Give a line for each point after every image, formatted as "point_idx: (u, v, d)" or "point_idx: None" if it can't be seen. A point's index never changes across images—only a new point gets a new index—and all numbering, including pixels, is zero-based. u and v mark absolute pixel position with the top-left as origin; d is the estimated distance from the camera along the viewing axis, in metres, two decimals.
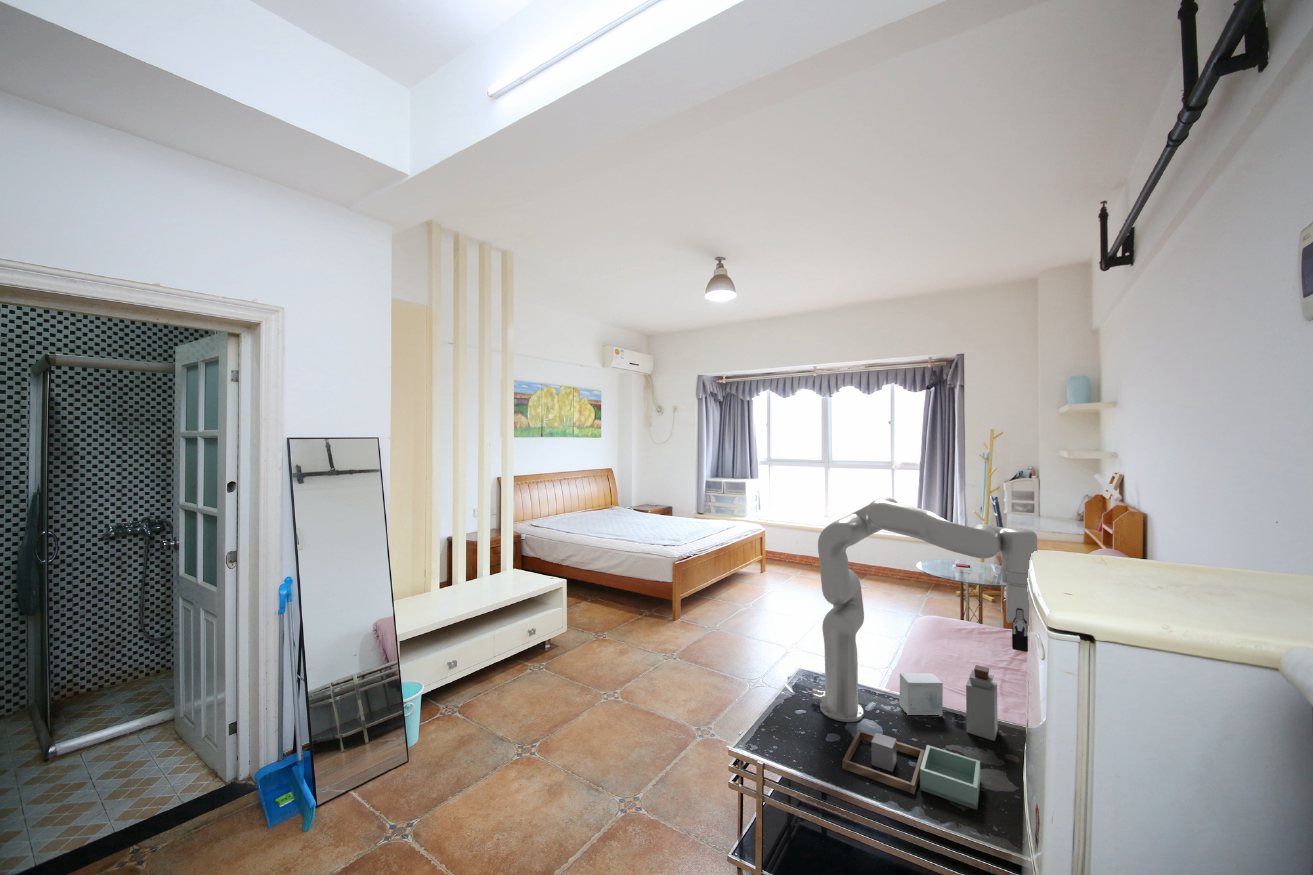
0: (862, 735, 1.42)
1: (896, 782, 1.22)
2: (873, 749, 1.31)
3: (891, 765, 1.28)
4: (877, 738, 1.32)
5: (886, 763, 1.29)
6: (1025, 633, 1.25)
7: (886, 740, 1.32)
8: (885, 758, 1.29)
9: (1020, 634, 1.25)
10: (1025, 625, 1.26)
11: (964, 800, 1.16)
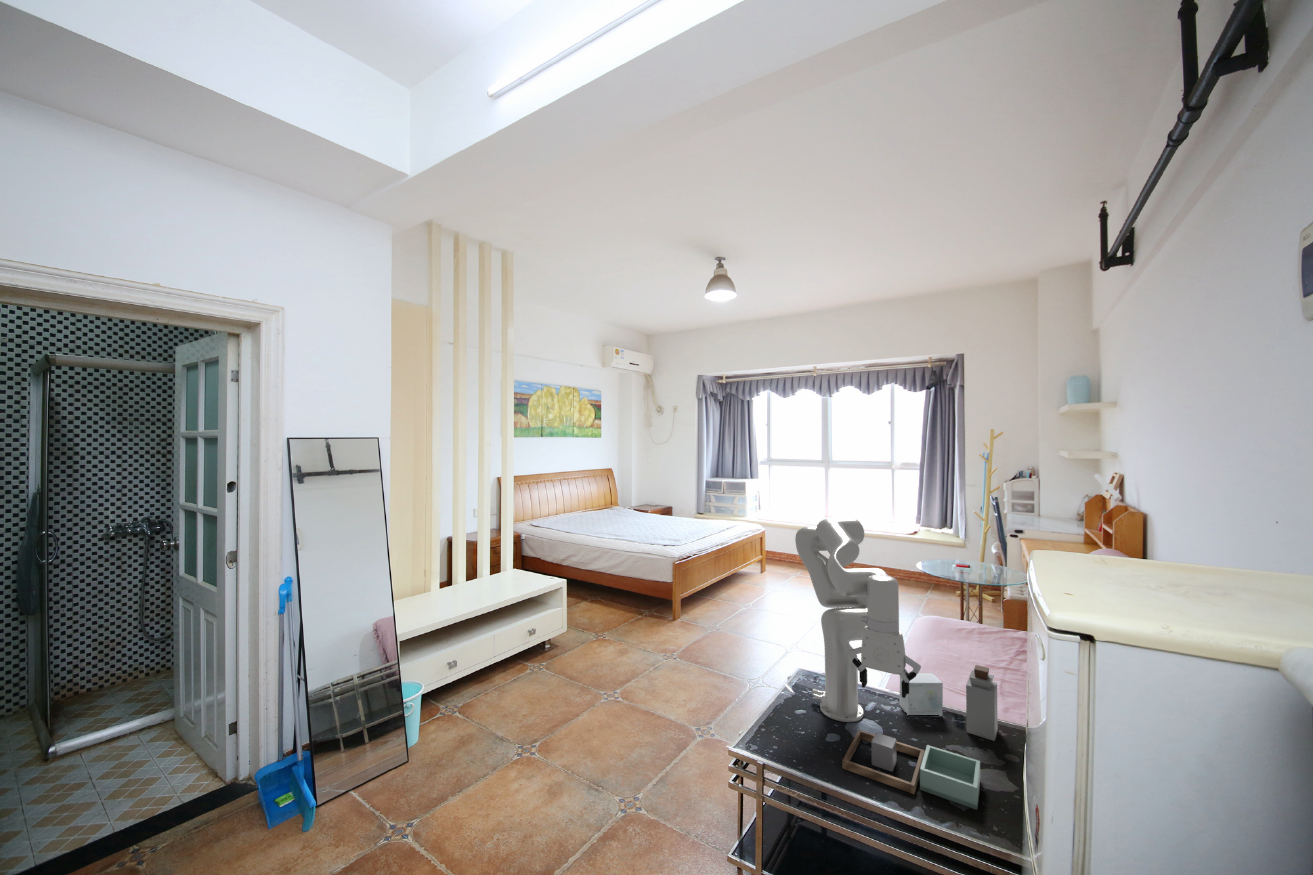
0: (862, 735, 1.42)
1: (896, 782, 1.22)
2: (873, 749, 1.31)
3: (891, 765, 1.28)
4: (877, 738, 1.32)
5: (886, 763, 1.29)
6: None
7: (886, 740, 1.32)
8: (885, 758, 1.29)
9: None
10: (904, 668, 1.30)
11: (964, 800, 1.16)
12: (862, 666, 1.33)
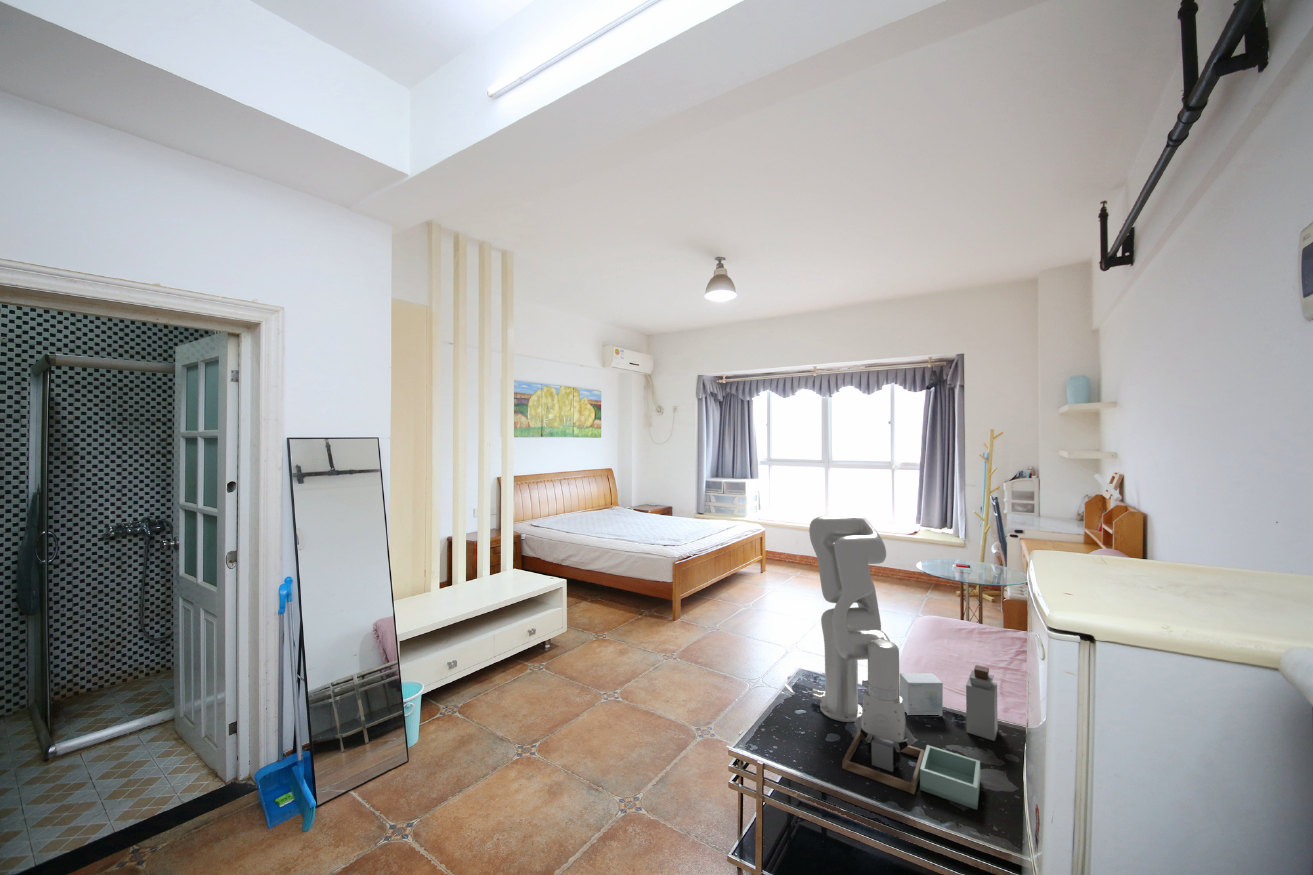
0: (862, 735, 1.42)
1: (896, 782, 1.22)
2: (873, 749, 1.31)
3: (891, 765, 1.28)
4: (877, 738, 1.32)
5: (886, 763, 1.29)
6: None
7: (886, 740, 1.32)
8: (885, 758, 1.29)
9: None
10: None
11: (964, 800, 1.16)
12: (870, 737, 1.32)
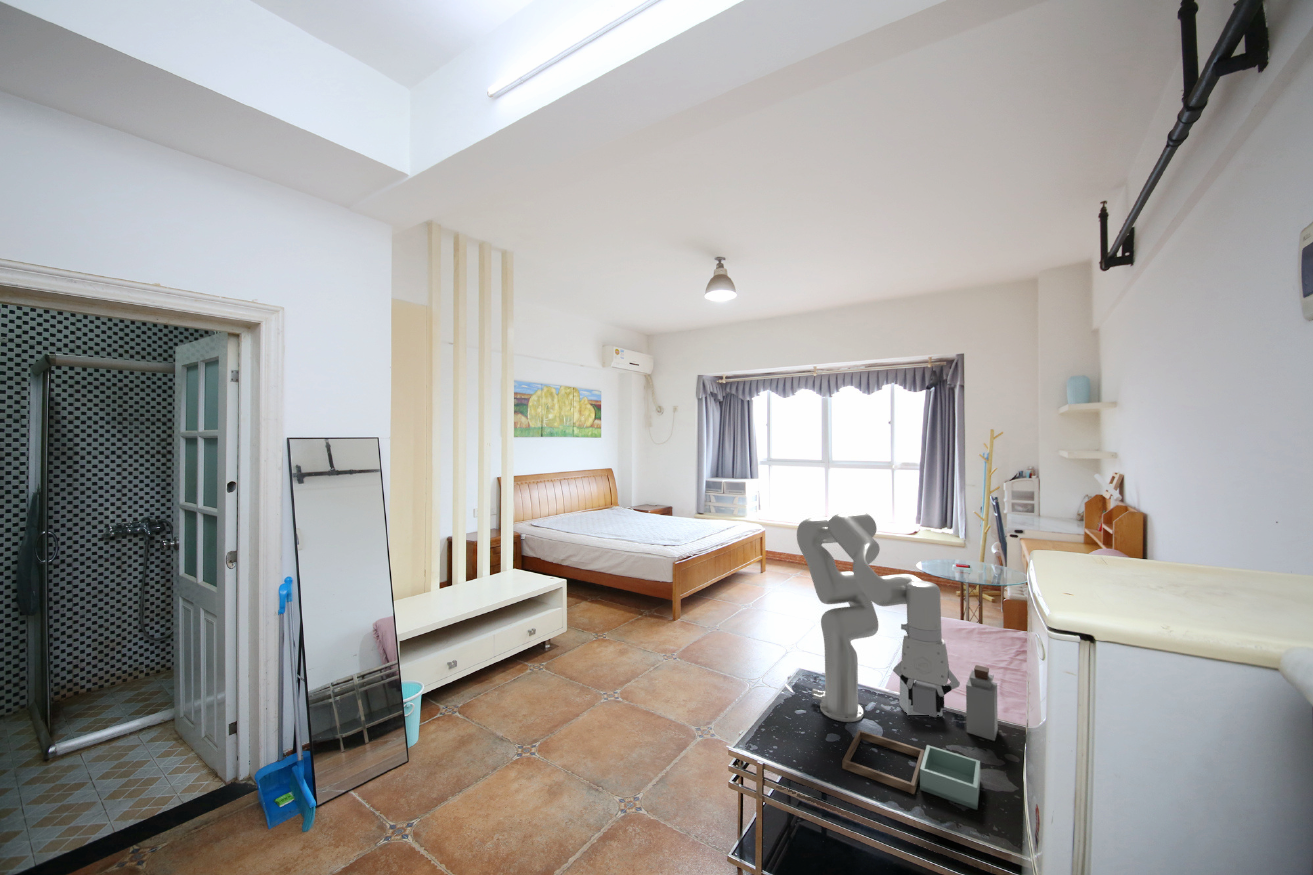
0: (862, 735, 1.42)
1: (896, 782, 1.22)
2: (914, 694, 1.25)
3: (934, 710, 1.22)
4: (918, 684, 1.26)
5: (929, 709, 1.23)
6: None
7: (928, 685, 1.26)
8: (928, 703, 1.23)
9: None
10: None
11: (964, 800, 1.16)
12: (911, 683, 1.26)
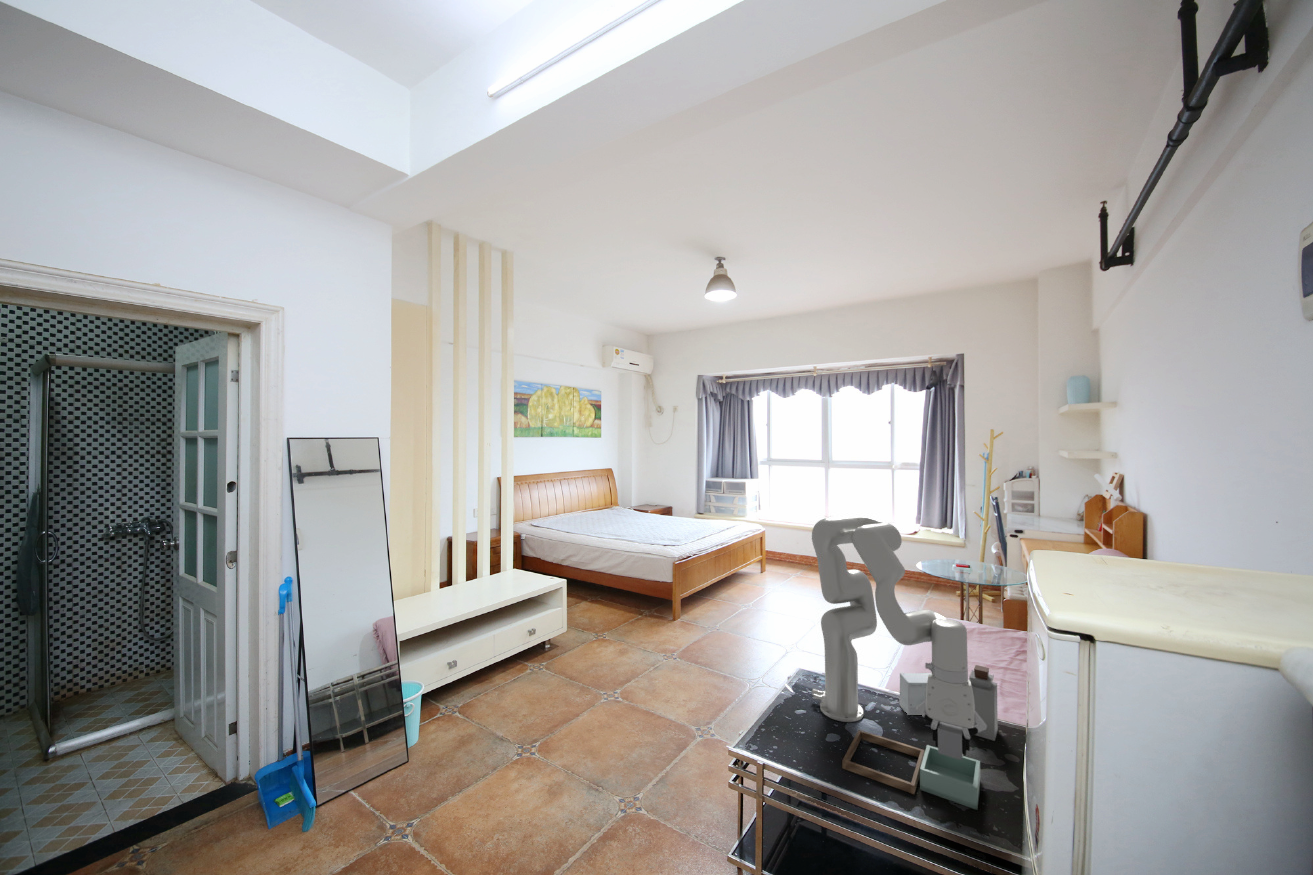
0: (862, 735, 1.42)
1: (896, 782, 1.22)
2: (940, 736, 1.22)
3: (960, 753, 1.19)
4: (943, 725, 1.23)
5: (955, 751, 1.20)
6: None
7: (953, 726, 1.23)
8: (953, 746, 1.20)
9: None
10: None
11: (964, 800, 1.16)
12: (936, 724, 1.23)
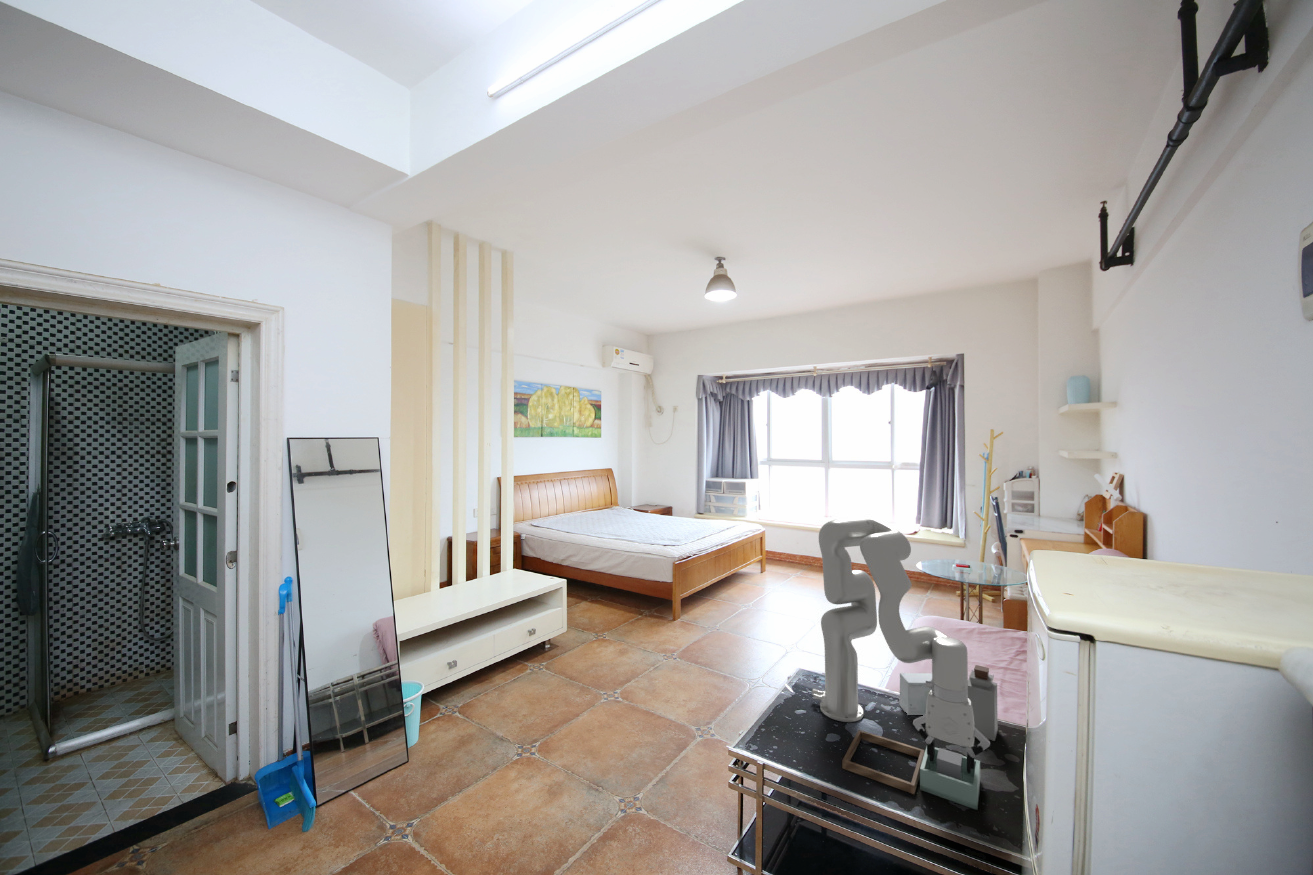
0: (862, 735, 1.42)
1: (896, 782, 1.22)
2: (939, 766, 1.22)
3: None
4: (942, 754, 1.24)
5: None
6: None
7: (952, 756, 1.23)
8: (952, 776, 1.21)
9: None
10: None
11: (964, 800, 1.16)
12: (930, 738, 1.24)
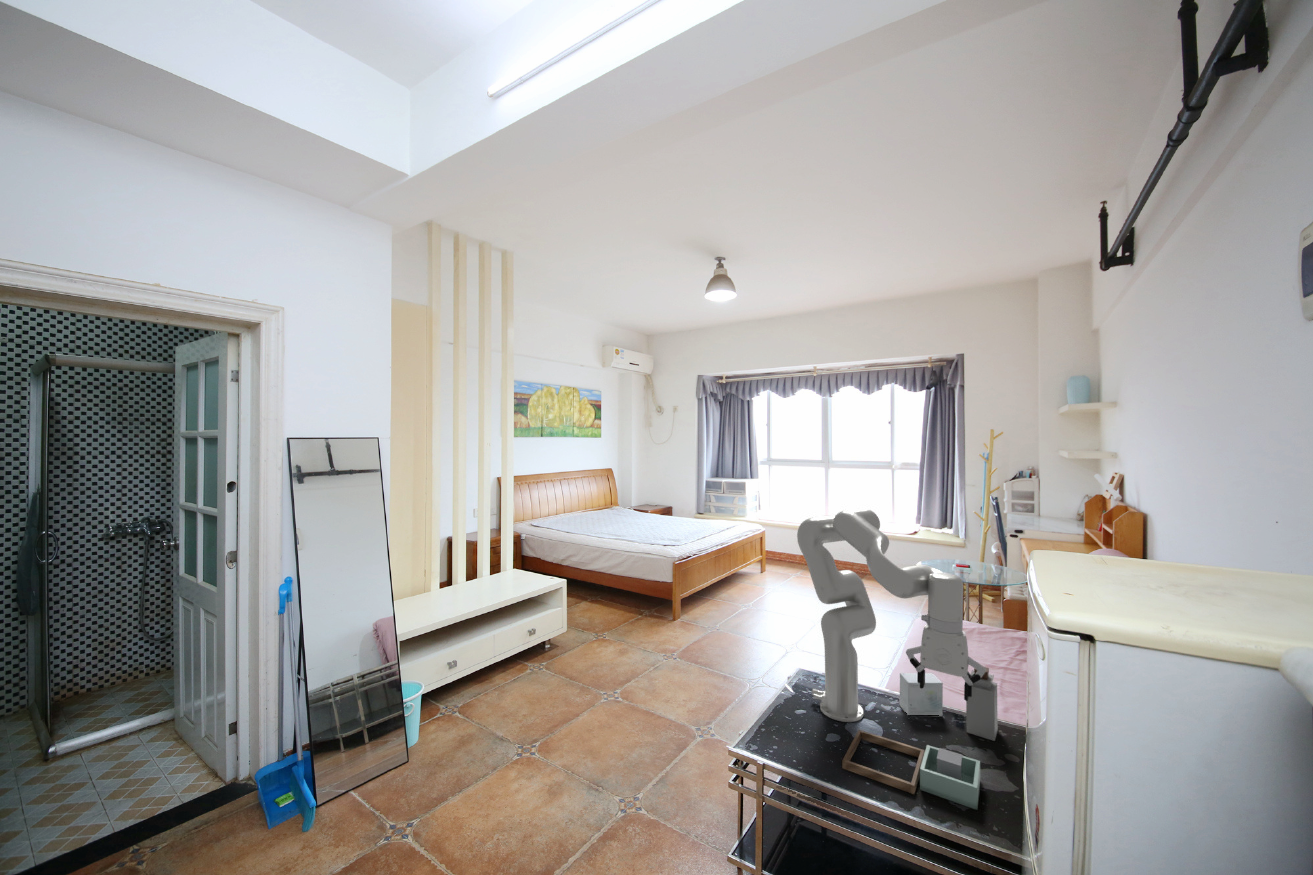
0: (862, 735, 1.42)
1: (896, 782, 1.22)
2: (939, 766, 1.22)
3: None
4: (942, 754, 1.24)
5: None
6: None
7: (952, 756, 1.23)
8: (952, 776, 1.21)
9: None
10: None
11: (964, 800, 1.16)
12: (921, 666, 1.28)
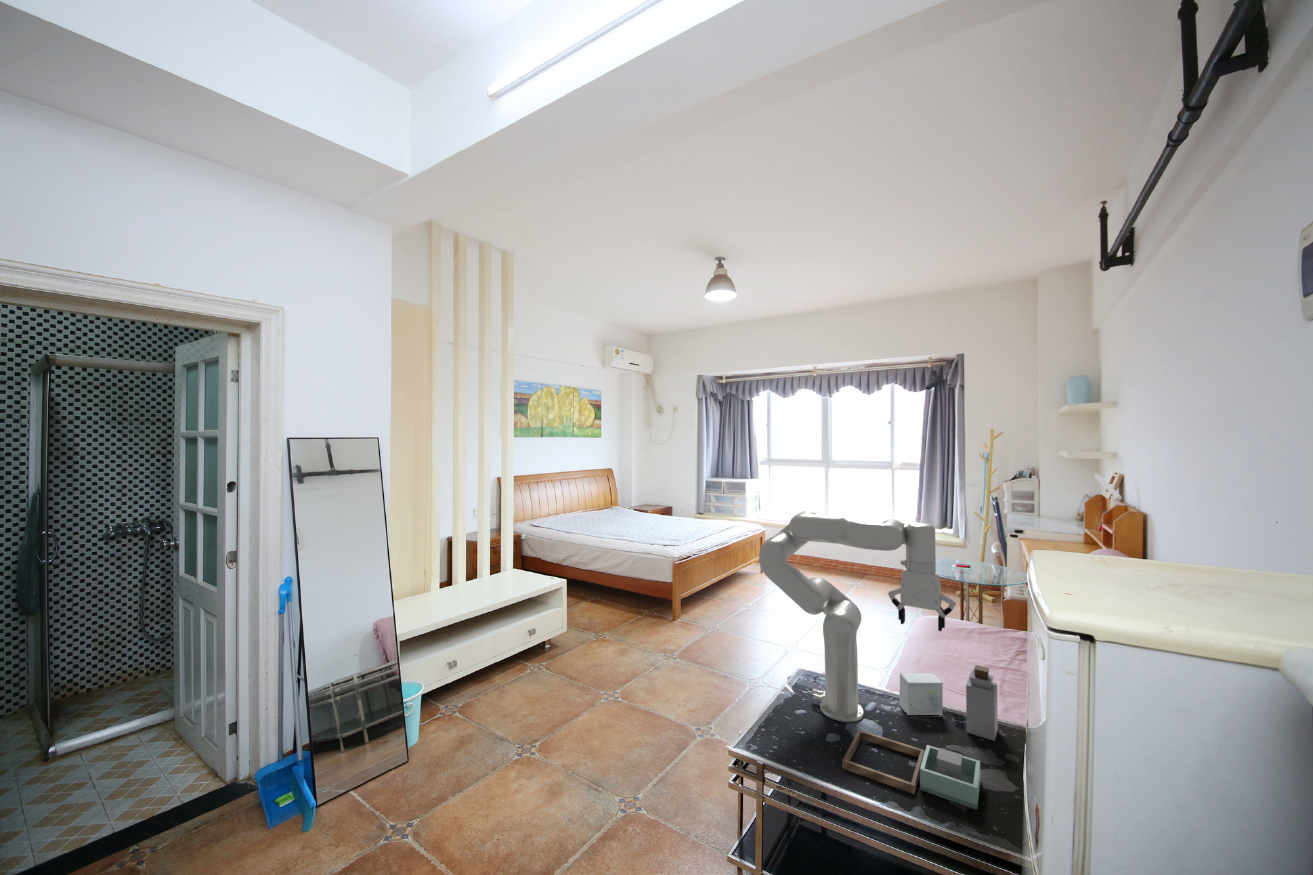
0: (862, 735, 1.42)
1: (896, 782, 1.22)
2: (939, 766, 1.22)
3: None
4: (942, 754, 1.24)
5: None
6: None
7: (952, 756, 1.23)
8: (952, 776, 1.21)
9: None
10: (940, 605, 1.43)
11: (964, 800, 1.16)
12: (901, 605, 1.47)
